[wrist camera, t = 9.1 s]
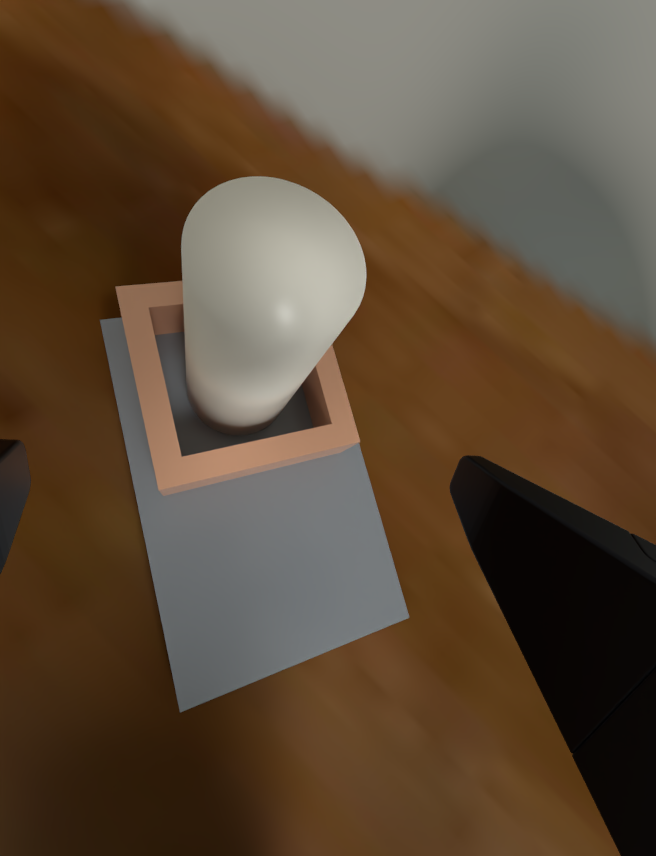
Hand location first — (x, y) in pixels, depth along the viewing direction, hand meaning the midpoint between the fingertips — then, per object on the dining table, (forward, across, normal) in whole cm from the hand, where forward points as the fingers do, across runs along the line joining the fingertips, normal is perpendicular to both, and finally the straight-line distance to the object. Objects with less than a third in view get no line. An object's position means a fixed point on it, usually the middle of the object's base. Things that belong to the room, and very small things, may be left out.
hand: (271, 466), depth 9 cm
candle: (+11, 0, +3) cm, 11 cm away
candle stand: (+9, -1, +7) cm, 12 cm away
